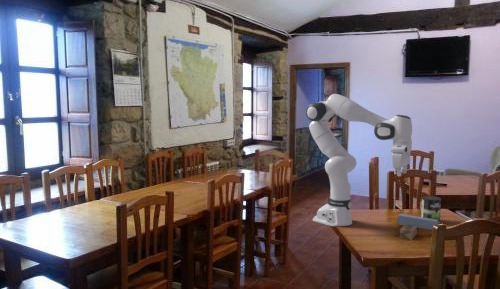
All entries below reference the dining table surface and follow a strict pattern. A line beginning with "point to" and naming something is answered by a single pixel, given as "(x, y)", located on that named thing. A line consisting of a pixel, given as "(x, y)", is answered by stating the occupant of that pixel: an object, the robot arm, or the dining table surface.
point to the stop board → (416, 221)
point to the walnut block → (408, 231)
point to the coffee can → (431, 207)
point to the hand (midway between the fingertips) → (401, 174)
